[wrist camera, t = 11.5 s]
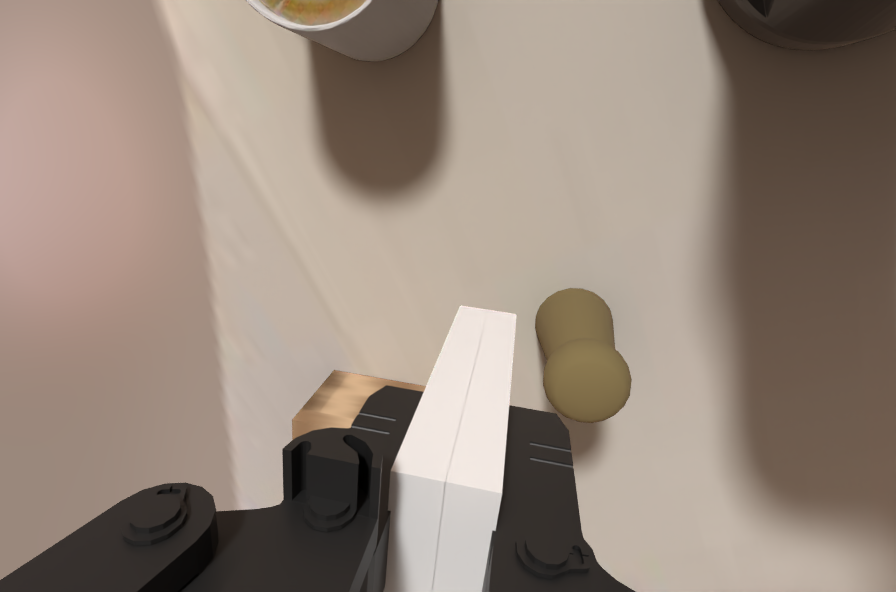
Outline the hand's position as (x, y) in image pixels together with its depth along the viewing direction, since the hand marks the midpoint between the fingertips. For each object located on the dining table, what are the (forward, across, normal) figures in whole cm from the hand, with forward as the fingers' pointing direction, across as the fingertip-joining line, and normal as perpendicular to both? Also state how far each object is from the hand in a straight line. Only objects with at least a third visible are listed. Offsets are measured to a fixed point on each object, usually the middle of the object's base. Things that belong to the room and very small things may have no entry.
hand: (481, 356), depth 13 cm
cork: (+25, +6, -8) cm, 27 cm away
